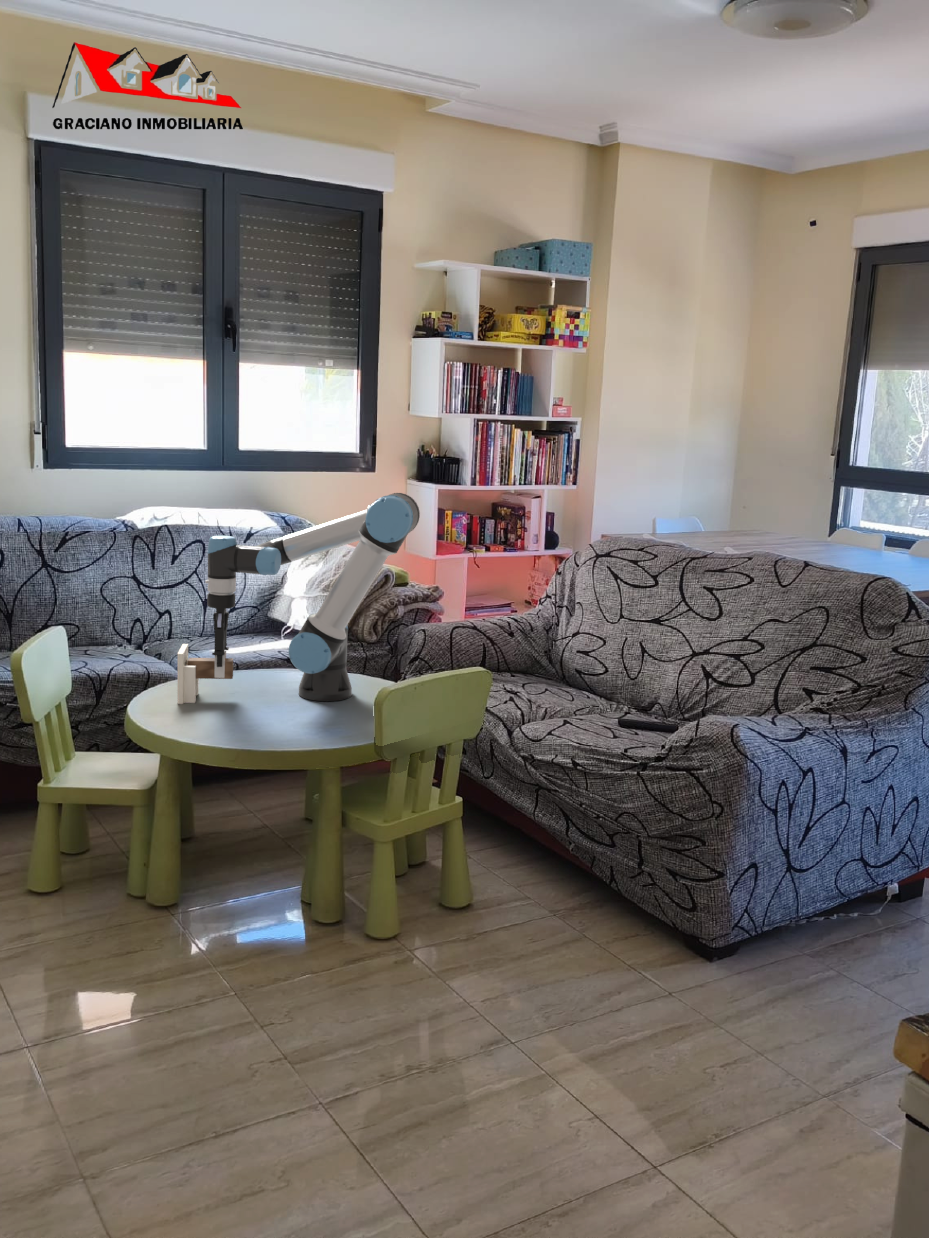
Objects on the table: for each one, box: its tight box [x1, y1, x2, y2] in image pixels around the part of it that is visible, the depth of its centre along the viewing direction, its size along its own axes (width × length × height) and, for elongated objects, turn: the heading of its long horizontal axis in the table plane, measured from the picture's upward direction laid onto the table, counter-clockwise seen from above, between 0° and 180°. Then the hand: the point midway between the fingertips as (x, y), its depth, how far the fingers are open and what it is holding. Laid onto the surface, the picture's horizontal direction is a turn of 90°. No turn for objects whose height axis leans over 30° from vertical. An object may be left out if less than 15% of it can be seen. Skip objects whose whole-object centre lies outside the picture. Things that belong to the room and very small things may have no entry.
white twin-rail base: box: [177, 643, 200, 705], centre depth 301 cm, size 4×12×14 cm, turn 8°
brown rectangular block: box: [188, 657, 234, 680], centre depth 302 cm, size 12×4×5 cm, turn 99°
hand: (220, 675), depth 302 cm, fingers closed on brown rectangular block, 3 cm apart
